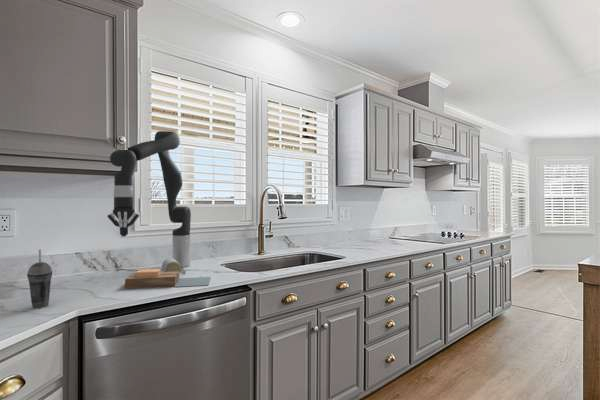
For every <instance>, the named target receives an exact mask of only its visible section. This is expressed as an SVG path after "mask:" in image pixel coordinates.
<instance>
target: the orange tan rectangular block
mask: <svg viewBox="0 0 600 400" xmlns="http://www.w3.org/2000/svg"><path fill="white" fill-rule="evenodd" d="M161 272H162V268H153V269H152V268H151V269H149V268H148V269H138V270H137V271H136V272H135V273H136V277H151V276H159V275H160V274H161Z"/></svg>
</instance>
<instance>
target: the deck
mask: <svg viewBox="0 0 600 400" xmlns="http://www.w3.org/2000/svg"><path fill="white" fill-rule="evenodd" d="M179 279H180V272H179V271H171V272H164V271H161V274H160V275H159V276H151V277H136V272H132V274H130V275H129V276H127V277H126V278H125V279H124V289H125V290H127V289H144V288H145V289H146V288H165V287H166V288H167V287H174V286H175V285H176V283H177V282H178V280H179Z"/></svg>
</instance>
